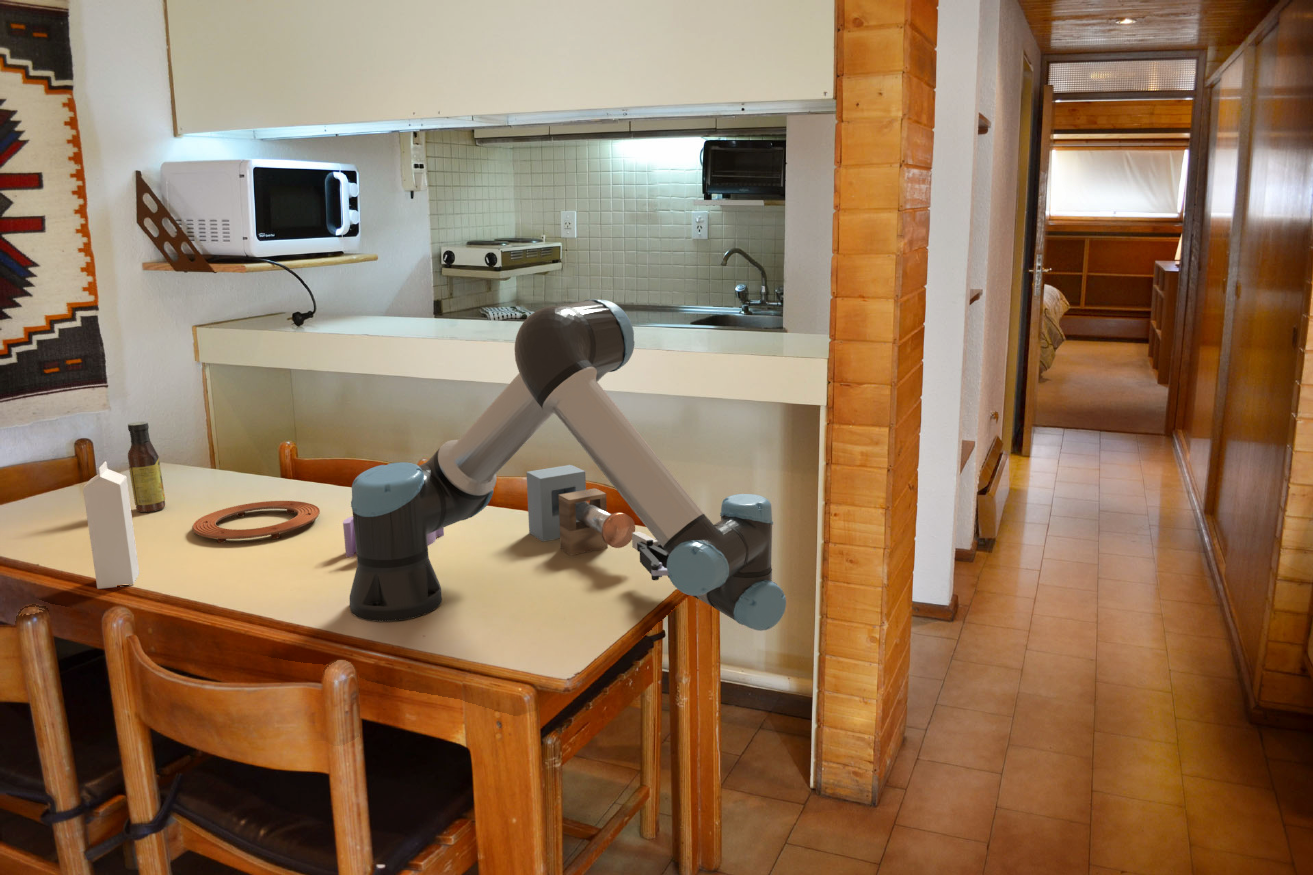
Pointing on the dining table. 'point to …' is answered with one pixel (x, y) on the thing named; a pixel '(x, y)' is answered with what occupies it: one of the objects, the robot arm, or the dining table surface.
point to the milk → (111, 529)
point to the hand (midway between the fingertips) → (635, 539)
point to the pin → (606, 524)
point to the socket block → (550, 498)
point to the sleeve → (576, 533)
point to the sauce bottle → (145, 470)
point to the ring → (211, 530)
